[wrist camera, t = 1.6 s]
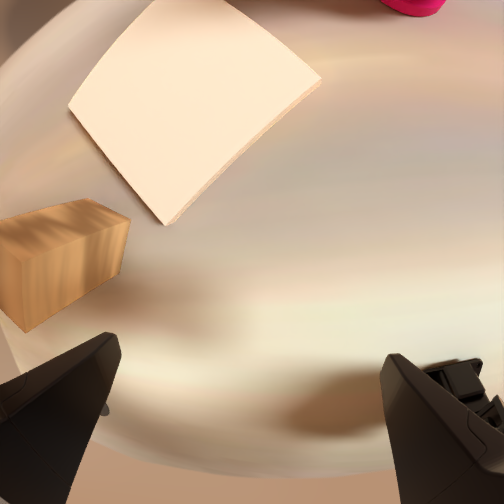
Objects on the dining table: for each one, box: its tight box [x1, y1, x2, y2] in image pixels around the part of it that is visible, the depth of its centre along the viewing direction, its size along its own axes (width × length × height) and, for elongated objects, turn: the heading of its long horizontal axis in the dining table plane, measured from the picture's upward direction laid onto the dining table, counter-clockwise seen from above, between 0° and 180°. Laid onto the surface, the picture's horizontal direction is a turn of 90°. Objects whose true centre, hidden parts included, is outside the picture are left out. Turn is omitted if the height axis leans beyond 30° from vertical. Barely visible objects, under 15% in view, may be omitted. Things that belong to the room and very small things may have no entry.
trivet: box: [68, 0, 321, 226], centre depth 18 cm, size 14×14×2 cm
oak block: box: [0, 198, 131, 333], centre depth 18 cm, size 5×5×11 cm
